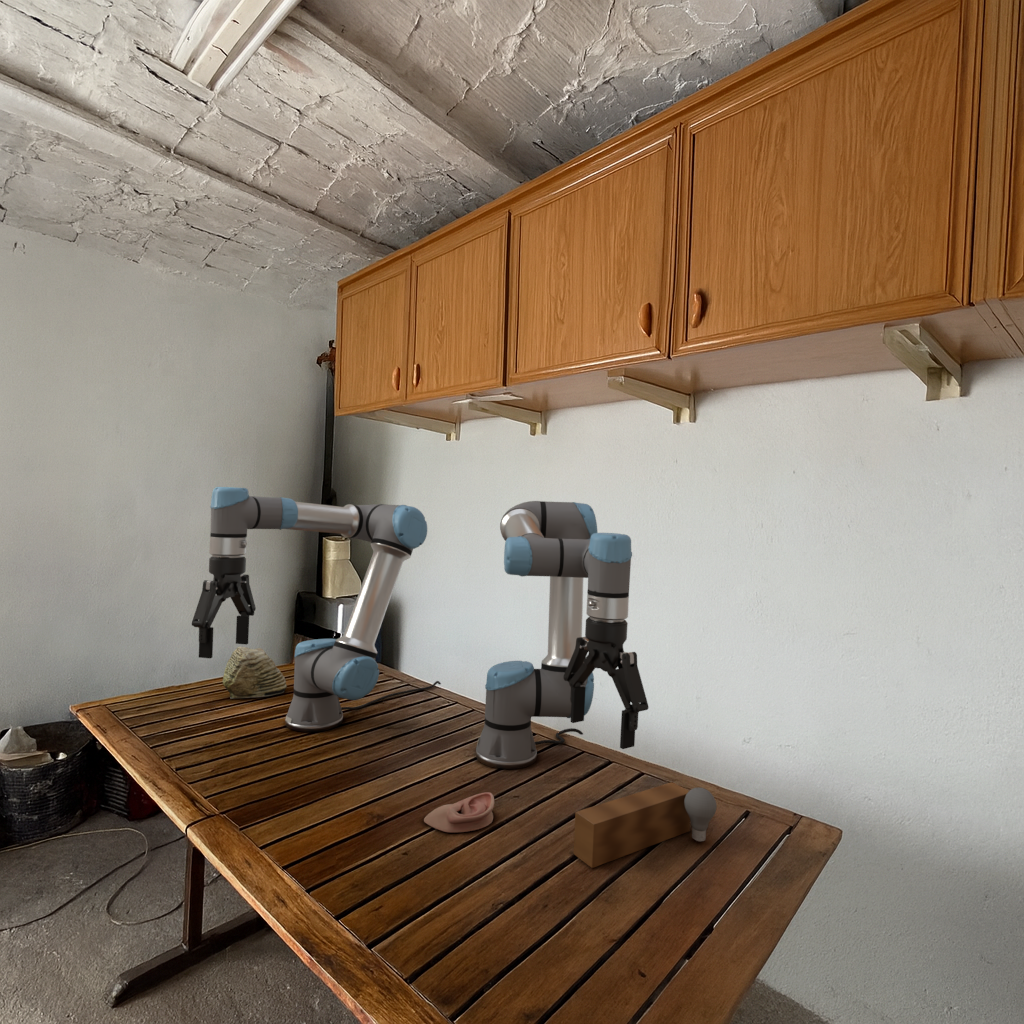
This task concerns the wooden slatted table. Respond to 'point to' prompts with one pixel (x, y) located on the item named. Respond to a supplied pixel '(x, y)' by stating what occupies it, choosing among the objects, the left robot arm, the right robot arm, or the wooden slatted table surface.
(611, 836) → the bar
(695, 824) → the light bulb
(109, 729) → the wooden slatted table surface
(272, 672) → the fossil
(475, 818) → the anatomical model
